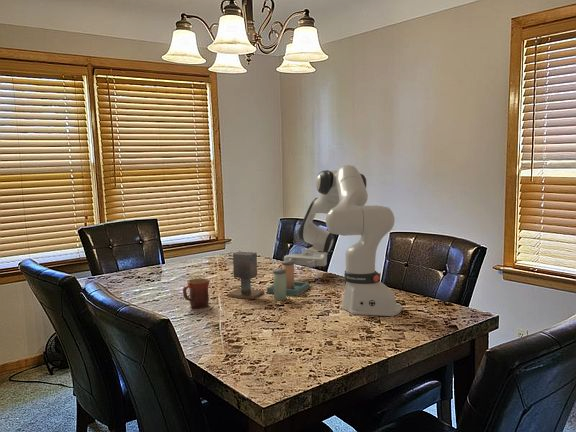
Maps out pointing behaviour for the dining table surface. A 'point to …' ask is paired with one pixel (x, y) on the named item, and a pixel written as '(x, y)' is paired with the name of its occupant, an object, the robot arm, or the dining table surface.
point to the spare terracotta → (289, 273)
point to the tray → (296, 291)
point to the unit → (245, 275)
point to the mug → (197, 292)
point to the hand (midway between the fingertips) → (298, 263)
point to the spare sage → (279, 284)
